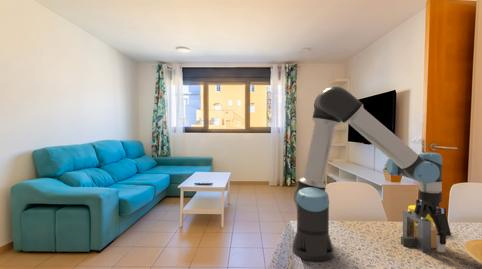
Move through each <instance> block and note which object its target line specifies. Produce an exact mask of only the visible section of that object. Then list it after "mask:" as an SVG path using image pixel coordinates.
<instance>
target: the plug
mask: <svg viewBox="0 0 482 269" xmlns="http://www.w3.org/2000/svg"><path fill="white" fill-rule="evenodd" d="M437 234H438V231H437V229H436V226H434V225H433V226H431V249H432V248H435V249H437ZM400 244H401V245H402V246H404V247H418V226H414V237H407V236H403V235H401V236H400Z"/></svg>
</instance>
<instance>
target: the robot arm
mask: <svg viewBox="0 0 482 269" xmlns="http://www.w3.org/2000/svg"><path fill="white" fill-rule="evenodd" d="M313 109H314V110H313V113H312V118H311V119H312V120H313V122H314V126H313V129H312V135H311V140H310V145H309V148H308V153H307V158H306V162H305V166H304V171H303V175H302V177H300V178H298V180H297V181H298V182H297V186H296V189H295V191H294V193H293V201H294V204H295V208H296V232H295V235H294V237H293V241H292V245H291V247H292V248H291V249H292V253H293V254H294V255H295V256H296V257H298V258H299V259H302V260H305V261H309V262H313V263H314V262H316V263H317V262H318V263H319V262H328V261H330V260H332V259H333V258H334V256H335V254H334V251H335V250H334V247H333V243H332V240H331V236H330V232H329V228H330V227H329V226H330V225H329V224H330V221H329V220H330V219H329V218H330V217H329V216H330V215H329V213H330V207H329V206H330V199H329V198H330V197H329V194H328V192H327V191H326V189H327V188H326V187H327V186H326V184H325V183H324V182H325V181H324V180H325V175H326V171H327V166H328V161H329V157H330V153H331V148H332V144H333V139H334V135H335V131H336V128H337V127H338V126H339V125H341V122H342V123H343V124H349V125H350V126H351V127H352V128H353V129H354V130H355V131H357V133H359V134H360V135H361V136H362V137H364V139H365V140H367V141H368V142H370V143H371V145H373V146H374V147H375V148H376V149H378V150H379V151H380V152H381V153H382V154H384V156H386V157H388V159H387V160H386V166H385V167H386V171H387V173H388V175H390V176H396V177H398V176H399V177H400V176H401V177H405V178H407V179H410V180H414V181H416V182H418V190H419V191H418V199H416V200H415V205H416V207H415V211H414V213H416V214H418V215H420V216H422V217H424V218H426V216H427V214H429V215H430V217H432V219H433V225H435V226H434V227H436V229H437V231H438V234H437V248H436V252H437V253H446V243H447V237H450V236H452V233H451V229H450V225H449V220H448V217H447V208H446V207H440V203H442V202H443V193H442V191H443V189H442V188H443V186H442V185H443V184H442V181H443V159H442V158H443V157H442V154H440V153H437V152H420V153H419V154H418V153H417V152H416V151H415V150H413V149H412V148H411V147H410V146H409V145H408V144H407V143H405V142H404V141H403V140H402V139H400V138H399V137H398V136H397V135H396V134H394V132H392V131H391V130H390V129H388V128H387V127H386V126H385V125H384V124H382V122H380V121H379V120H378V119H377V118H375V116H373V115H372V113H370V112H368V111H367V110H366V109H365V107H364V104H363V103H362V102H361V101H360V100H359V99H358V98H357V97H356V96H354V95H353V94H352V93H351V92H350V91H348V90H346V89H345V88H343V87H341V86H335V85H334V86H329V87H327V88H325V89H324V90H323V91H322V92H321V93H319V94H318V95H317V96H316V97H315V99H314V103H313ZM415 222H416V226H418V222H417V221H415Z"/></svg>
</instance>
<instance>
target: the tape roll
mask: <svg viewBox="0 0 482 269" xmlns="http://www.w3.org/2000/svg"><path fill="white" fill-rule="evenodd" d="M415 207H416V204H413V205H411V204H410V205H408V207H407V210H409V211H412V212H414V211H415ZM426 219H428V220H430V221H431V226H434V221H433V219H432V217H430V215H429V214H427V216H426ZM414 226H416V222H415V220H414Z"/></svg>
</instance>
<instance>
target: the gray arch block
mask: <svg viewBox="0 0 482 269" xmlns="http://www.w3.org/2000/svg"><path fill="white" fill-rule="evenodd" d="M414 220H415V221H417V222H418V246H417V250H418V251H420V252H421V253H427V254H428V253H430V254H431V253H432V248H431V221H430V220H428V219H426V218H424V217H422V216H420V215H418V214H416V213H414V212H412V211H409V210H408V209H407V210H402V236H407V237H414Z"/></svg>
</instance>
